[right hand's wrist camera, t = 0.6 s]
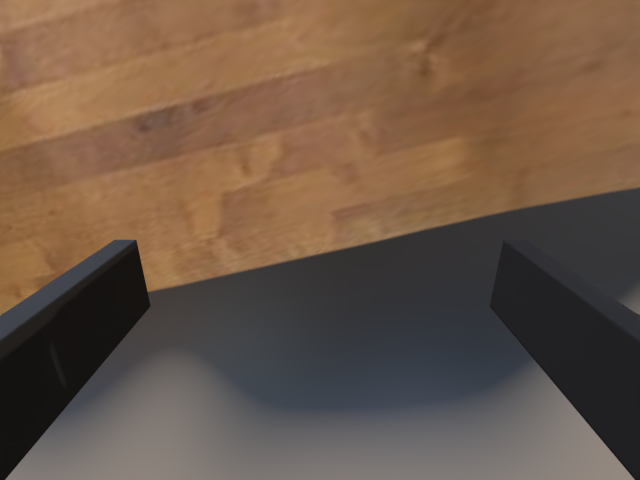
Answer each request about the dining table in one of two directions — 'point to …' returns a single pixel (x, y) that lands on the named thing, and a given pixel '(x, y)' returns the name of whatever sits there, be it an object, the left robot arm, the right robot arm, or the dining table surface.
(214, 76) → the dining table surface
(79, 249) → the dining table surface
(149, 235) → the dining table surface
